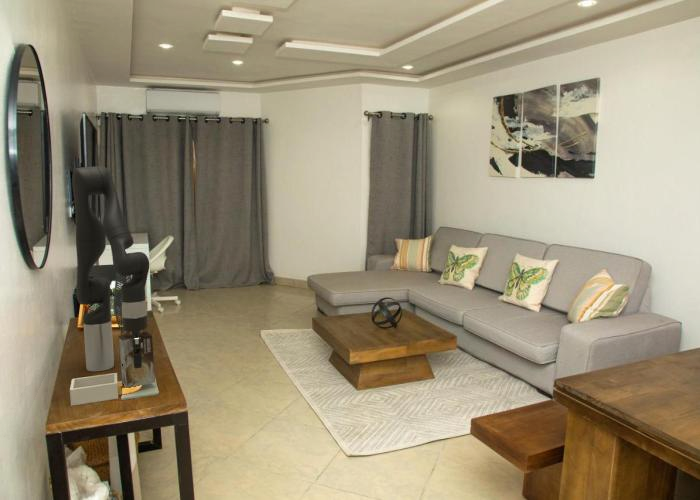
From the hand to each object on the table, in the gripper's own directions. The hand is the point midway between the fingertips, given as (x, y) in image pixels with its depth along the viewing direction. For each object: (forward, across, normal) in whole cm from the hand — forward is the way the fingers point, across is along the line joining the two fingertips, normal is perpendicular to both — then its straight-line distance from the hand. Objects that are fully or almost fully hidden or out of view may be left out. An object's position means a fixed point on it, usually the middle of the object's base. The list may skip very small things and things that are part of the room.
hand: (137, 364), depth 173 cm
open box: (+9, 0, -13) cm, 16 cm away
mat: (+9, 0, 0) cm, 9 cm away
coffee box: (+7, 0, 0) cm, 7 cm away
